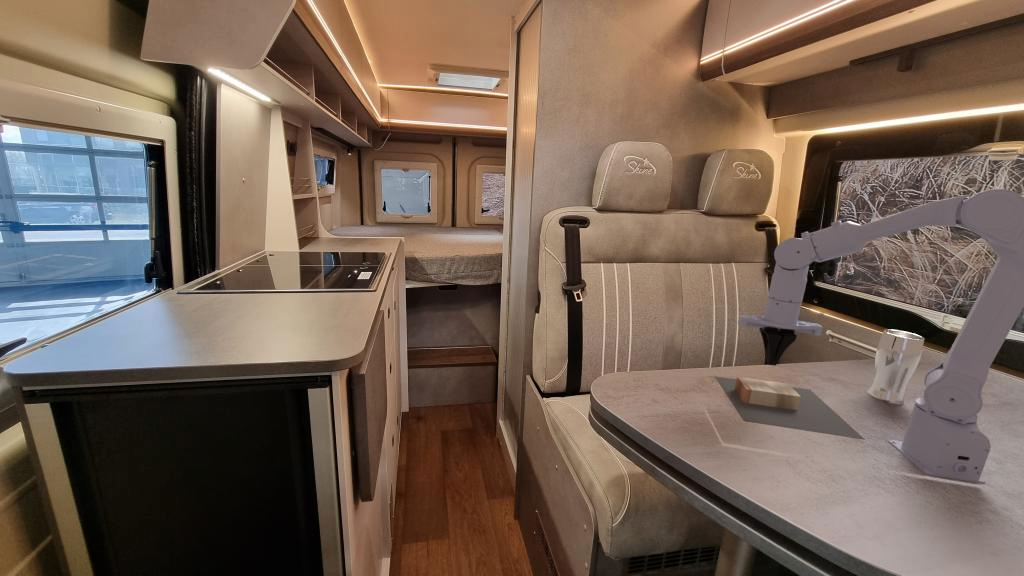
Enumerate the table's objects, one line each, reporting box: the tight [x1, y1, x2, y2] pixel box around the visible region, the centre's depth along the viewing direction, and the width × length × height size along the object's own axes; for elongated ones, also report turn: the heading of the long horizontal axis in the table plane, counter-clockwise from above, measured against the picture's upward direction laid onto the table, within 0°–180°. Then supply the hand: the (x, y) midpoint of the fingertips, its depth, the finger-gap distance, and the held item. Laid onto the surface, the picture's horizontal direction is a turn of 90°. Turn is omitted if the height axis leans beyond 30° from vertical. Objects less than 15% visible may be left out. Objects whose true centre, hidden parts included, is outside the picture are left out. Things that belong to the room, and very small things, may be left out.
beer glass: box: [867, 328, 925, 406], centre depth 91 cm, size 7×7×15 cm
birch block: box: [734, 376, 801, 410], centre depth 87 cm, size 6×3×10 cm
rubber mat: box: [715, 376, 865, 440], centre depth 86 cm, size 20×20×1 cm
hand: (770, 363), depth 86 cm, fingers closed
